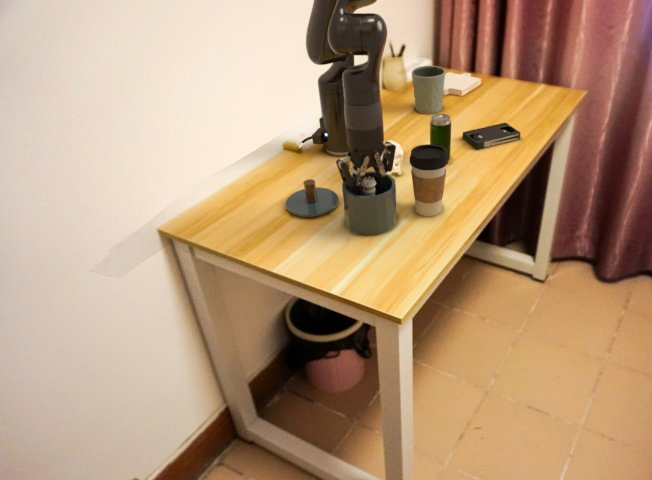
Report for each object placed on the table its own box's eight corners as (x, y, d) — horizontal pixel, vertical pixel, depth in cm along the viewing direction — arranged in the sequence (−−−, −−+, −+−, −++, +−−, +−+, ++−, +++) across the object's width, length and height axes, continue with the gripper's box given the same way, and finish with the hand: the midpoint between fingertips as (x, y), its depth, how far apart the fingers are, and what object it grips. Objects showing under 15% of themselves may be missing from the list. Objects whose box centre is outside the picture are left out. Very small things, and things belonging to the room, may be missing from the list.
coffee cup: (435, 223, 120) (436, 162, 111) (403, 213, 124) (401, 153, 115) (453, 205, 126) (455, 146, 117) (421, 196, 129) (421, 138, 120)
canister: (338, 231, 119) (333, 193, 113) (356, 204, 127) (353, 168, 122) (387, 238, 116) (385, 200, 110) (402, 210, 125) (401, 174, 119)
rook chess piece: (365, 218, 118) (363, 186, 113) (357, 209, 121) (354, 177, 116) (384, 213, 120) (382, 181, 115) (375, 203, 123) (373, 172, 118)
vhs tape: (476, 149, 148) (477, 143, 147) (462, 138, 154) (462, 132, 152) (520, 139, 152) (521, 132, 151) (505, 128, 158) (505, 122, 157)
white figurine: (404, 139, 134) (384, 164, 126) (406, 168, 140) (387, 194, 132) (381, 135, 136) (360, 160, 129) (384, 164, 142) (364, 189, 134)
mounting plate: (457, 98, 177) (458, 92, 176) (425, 91, 184) (425, 85, 182) (484, 82, 189) (484, 76, 188) (452, 75, 195) (452, 70, 194)
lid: (277, 214, 125) (272, 192, 121) (300, 188, 134) (296, 166, 130) (326, 222, 122) (323, 199, 118) (346, 194, 131) (344, 172, 127)
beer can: (437, 167, 141) (438, 123, 133) (425, 159, 144) (425, 116, 137) (454, 161, 143) (455, 118, 136) (442, 153, 147) (442, 111, 139)
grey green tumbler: (449, 106, 173) (451, 68, 165) (434, 117, 166) (434, 78, 159) (422, 100, 177) (422, 63, 170) (406, 111, 170) (405, 73, 163)
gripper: (382, 106, 113) (385, 177, 123) (323, 125, 106) (332, 199, 117) (404, 117, 108) (405, 190, 119) (344, 137, 102) (351, 213, 112)
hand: (369, 194), depth 118 cm, fingers open, 5 cm apart
